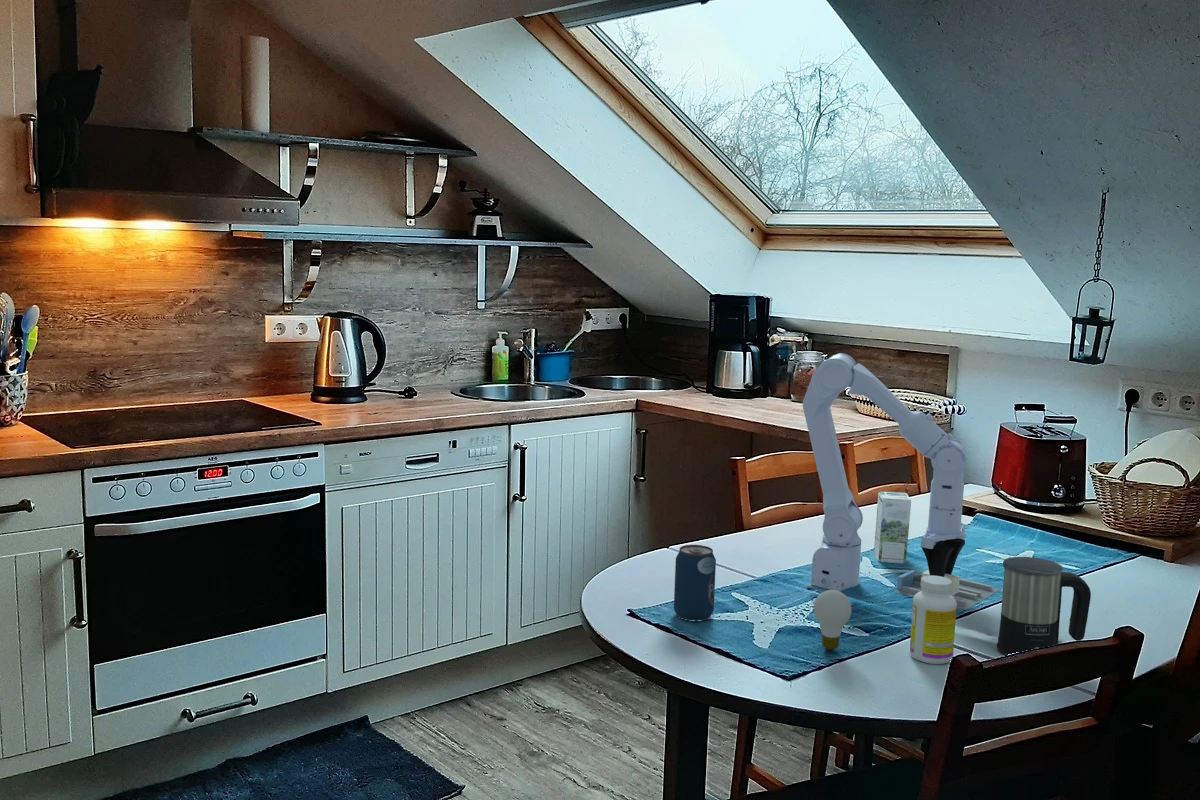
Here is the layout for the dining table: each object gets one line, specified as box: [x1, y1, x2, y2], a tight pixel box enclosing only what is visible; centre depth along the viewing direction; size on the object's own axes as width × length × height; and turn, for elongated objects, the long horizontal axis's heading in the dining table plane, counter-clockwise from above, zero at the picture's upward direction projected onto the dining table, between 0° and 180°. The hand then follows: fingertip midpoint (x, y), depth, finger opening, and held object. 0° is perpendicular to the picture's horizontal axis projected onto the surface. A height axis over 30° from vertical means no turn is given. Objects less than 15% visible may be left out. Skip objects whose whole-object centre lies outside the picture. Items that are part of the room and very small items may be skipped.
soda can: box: [673, 544, 717, 621], centre depth 187 cm, size 7×7×12 cm
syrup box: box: [873, 491, 912, 564], centre depth 220 cm, size 6×6×14 cm
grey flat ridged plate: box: [892, 569, 1001, 611], centre depth 202 cm, size 16×14×4 cm
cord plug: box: [913, 569, 960, 596], centre depth 200 cm, size 3×8×3 cm, turn 49°
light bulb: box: [813, 589, 852, 652], centre depth 173 cm, size 6×6×10 cm
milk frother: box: [995, 556, 1092, 656], centre depth 178 cm, size 14×16×15 cm
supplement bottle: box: [909, 576, 958, 665], centre depth 171 cm, size 7×7×13 cm
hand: (940, 578), depth 199 cm, fingers closed on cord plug, 3 cm apart
